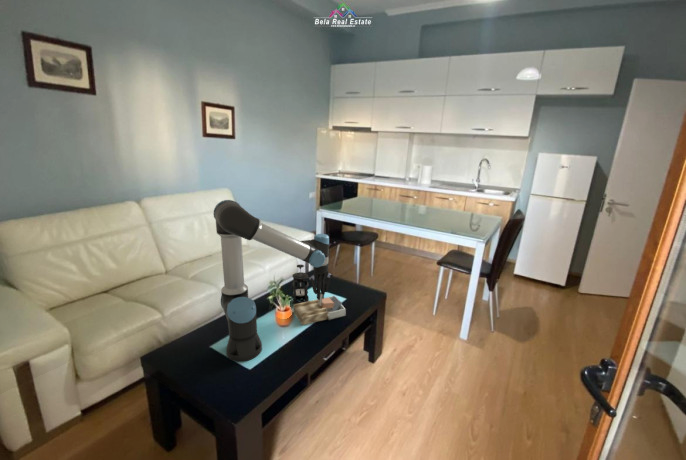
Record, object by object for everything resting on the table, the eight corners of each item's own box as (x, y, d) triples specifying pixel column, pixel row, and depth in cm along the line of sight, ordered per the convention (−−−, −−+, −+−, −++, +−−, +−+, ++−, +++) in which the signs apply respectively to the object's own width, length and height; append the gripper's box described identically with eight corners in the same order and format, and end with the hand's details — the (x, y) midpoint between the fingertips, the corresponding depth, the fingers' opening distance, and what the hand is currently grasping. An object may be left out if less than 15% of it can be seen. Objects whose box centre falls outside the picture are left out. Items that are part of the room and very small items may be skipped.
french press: (313, 302, 184) (313, 265, 178) (300, 308, 177) (300, 270, 171) (299, 295, 192) (298, 260, 185) (287, 301, 185) (286, 264, 178)
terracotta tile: (323, 308, 170) (323, 303, 169) (318, 303, 175) (319, 298, 174) (333, 307, 173) (333, 302, 172) (328, 302, 178) (329, 297, 177)
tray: (328, 319, 167) (328, 313, 166) (317, 305, 181) (317, 299, 180) (345, 315, 172) (346, 309, 170) (333, 302, 185) (333, 296, 184)
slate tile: (338, 300, 173) (342, 302, 175) (333, 295, 178) (337, 298, 180) (331, 309, 173) (335, 311, 174) (327, 304, 178) (330, 306, 179)
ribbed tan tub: (302, 325, 162) (302, 315, 160) (293, 312, 174) (293, 303, 172) (327, 319, 168) (327, 309, 166) (317, 306, 180) (317, 297, 178)
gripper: (312, 267, 159) (311, 310, 166) (335, 264, 165) (333, 305, 171) (306, 262, 166) (306, 303, 172) (329, 259, 172) (328, 299, 178)
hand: (320, 304), depth 172 cm, fingers closed
